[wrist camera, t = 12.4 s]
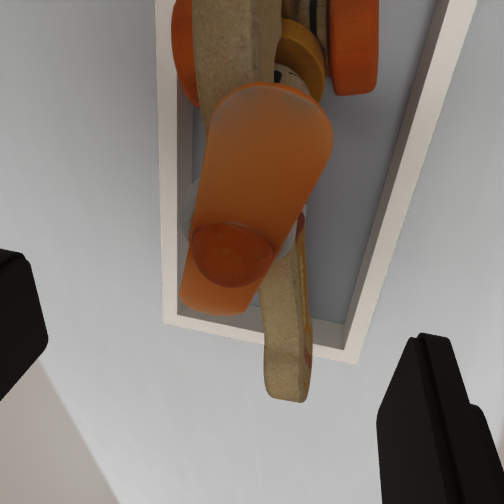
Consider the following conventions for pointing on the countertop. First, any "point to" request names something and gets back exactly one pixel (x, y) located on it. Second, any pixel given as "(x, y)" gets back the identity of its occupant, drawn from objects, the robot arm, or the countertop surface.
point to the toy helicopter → (264, 155)
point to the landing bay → (327, 174)
